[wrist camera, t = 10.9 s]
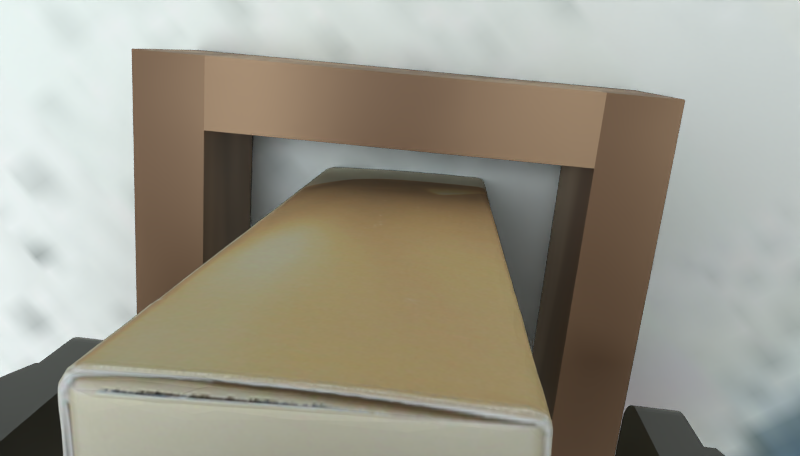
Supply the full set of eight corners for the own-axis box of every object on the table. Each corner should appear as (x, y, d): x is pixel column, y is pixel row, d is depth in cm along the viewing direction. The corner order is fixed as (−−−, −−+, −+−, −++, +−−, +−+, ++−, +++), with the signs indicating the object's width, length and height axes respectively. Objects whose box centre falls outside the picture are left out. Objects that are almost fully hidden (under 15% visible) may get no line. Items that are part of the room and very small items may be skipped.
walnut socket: (635, 90, 16) (685, 99, 13) (566, 476, 19) (591, 568, 16) (196, 50, 17) (131, 48, 13) (194, 432, 19) (140, 511, 16)
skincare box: (469, 388, 18) (505, 981, 7) (317, 377, 19) (91, 926, 7) (488, 162, 17) (579, 419, 5) (320, 153, 17) (30, 375, 5)
